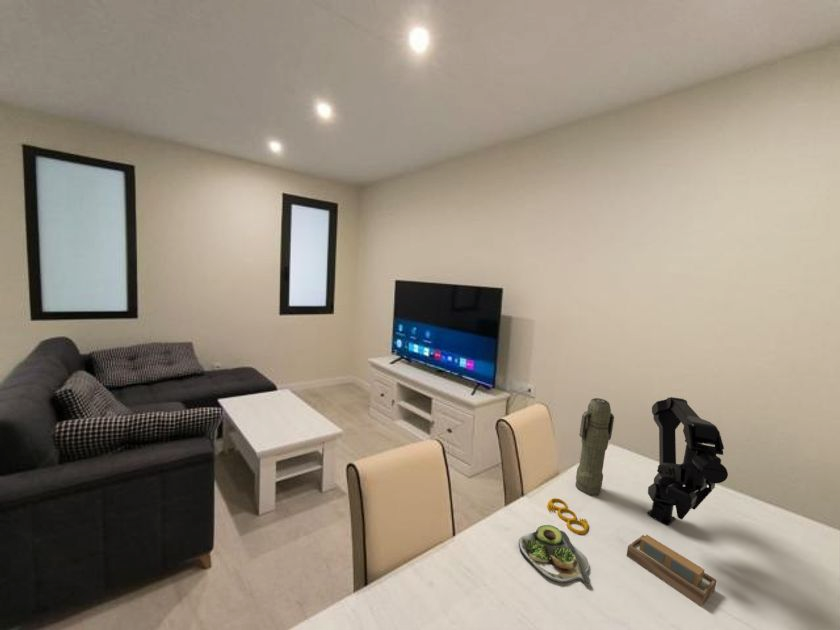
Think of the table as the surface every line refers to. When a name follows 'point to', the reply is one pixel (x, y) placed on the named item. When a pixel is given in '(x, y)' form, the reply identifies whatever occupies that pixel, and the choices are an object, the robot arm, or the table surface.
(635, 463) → the table surface
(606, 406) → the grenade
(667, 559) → the tan rectangular block
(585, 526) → the gold linked rings
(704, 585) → the brown picture frame
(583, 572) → the salad plate
